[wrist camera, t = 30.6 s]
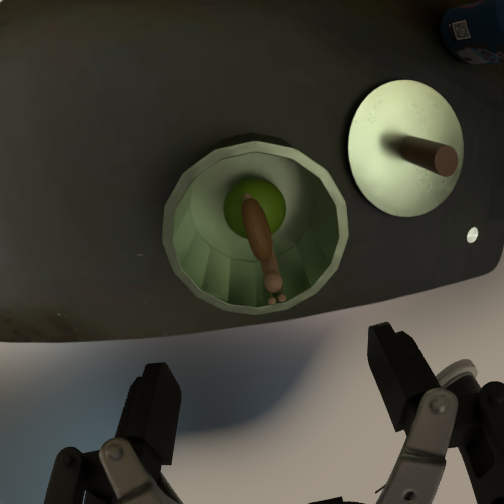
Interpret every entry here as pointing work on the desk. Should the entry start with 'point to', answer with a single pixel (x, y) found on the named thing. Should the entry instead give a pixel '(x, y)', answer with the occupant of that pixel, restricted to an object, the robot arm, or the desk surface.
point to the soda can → (475, 32)
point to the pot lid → (405, 148)
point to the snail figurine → (258, 224)
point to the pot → (237, 248)
